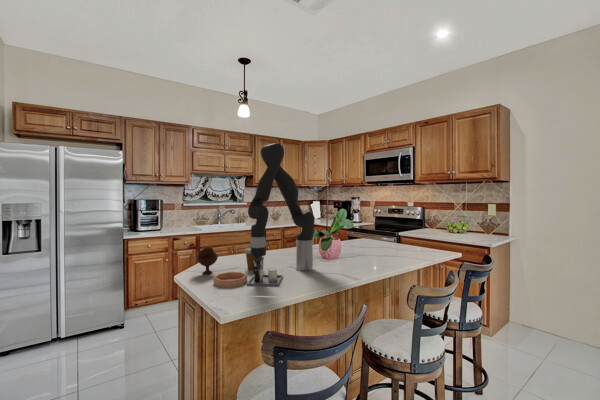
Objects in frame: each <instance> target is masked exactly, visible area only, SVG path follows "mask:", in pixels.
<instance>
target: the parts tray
mask: <svg viewBox="0 0 600 400" xmlns="http://www.w3.org/2000/svg"><path fill="white" fill-rule="evenodd" d="M283 277H284V275H283V274H277V282H273V283H272V282H268V274H263V281H262V282H254V274H253V275H252V276H251V277H250V279H249V280H247V281H246V282H245V284H246V286H253V287H255V286H258V287H279V286H280V283H281V282H282V279H283Z"/></svg>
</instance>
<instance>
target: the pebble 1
mask: <svg viewBox="0 0 600 400" xmlns="http://www.w3.org/2000/svg"><path fill="white" fill-rule="evenodd" d="M256 271H257V270H256ZM253 275H254V282H255V274H253ZM263 275H264V268H263V269H260V281H259V282H262V281H263Z"/></svg>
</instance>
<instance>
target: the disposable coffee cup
mask: <svg viewBox="0 0 600 400" xmlns="http://www.w3.org/2000/svg"><path fill="white" fill-rule="evenodd" d="M244 252H245V256H246V264H247V266H246V267H247V270H248V271H253V262H254V260H255V257H254V256H251V247H246V248H245V250H244Z"/></svg>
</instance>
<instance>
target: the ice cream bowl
mask: <svg viewBox="0 0 600 400" xmlns="http://www.w3.org/2000/svg"><path fill="white" fill-rule="evenodd" d="M218 257H219V256H218V254H217V252H215V251H214V248H213V247H212V246H210V245H209V246H204V247H203V248H202V249H200V250H199V251H198V254H197V257H196V259H197V262H198V263H199V264H200V265H201V266H202V267H205V270H204V271H202V275H204V276H208V275H212V274H213V270H210V267H211V266H212V265H214V264H215V263H216V262H217V260H218Z"/></svg>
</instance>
